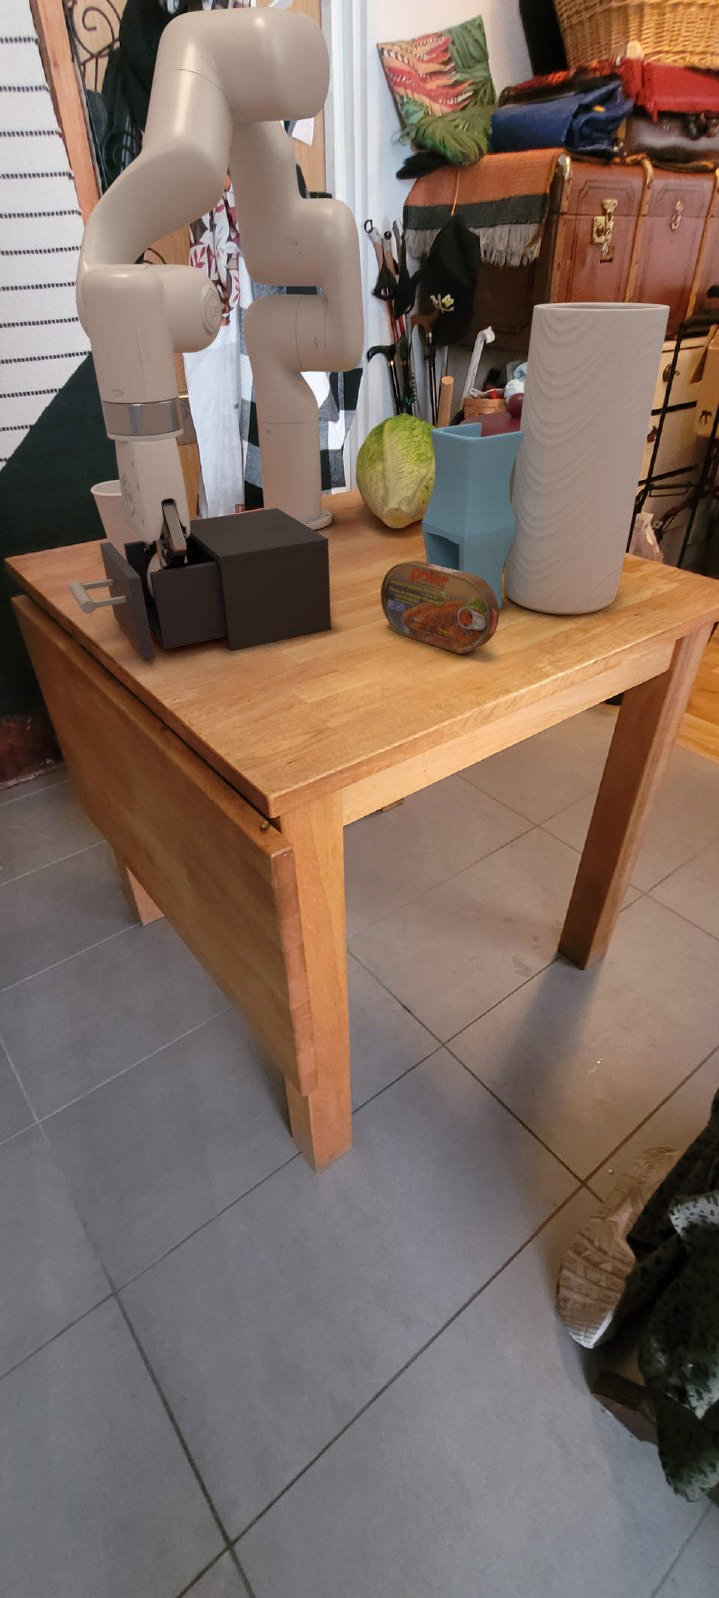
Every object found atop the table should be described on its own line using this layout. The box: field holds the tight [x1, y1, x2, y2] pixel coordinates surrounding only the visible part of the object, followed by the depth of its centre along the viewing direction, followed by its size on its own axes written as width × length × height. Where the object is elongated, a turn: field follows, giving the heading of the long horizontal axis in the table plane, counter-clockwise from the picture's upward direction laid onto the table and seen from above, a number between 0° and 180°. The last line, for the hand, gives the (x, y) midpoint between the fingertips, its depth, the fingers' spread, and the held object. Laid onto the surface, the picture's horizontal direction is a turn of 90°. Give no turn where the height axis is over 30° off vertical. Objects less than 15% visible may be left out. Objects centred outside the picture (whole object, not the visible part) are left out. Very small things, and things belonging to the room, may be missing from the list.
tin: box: [380, 560, 500, 654], centre depth 85 cm, size 15×3×8 cm, turn 47°
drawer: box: [68, 537, 227, 660], centre depth 86 cm, size 16×13×9 cm
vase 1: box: [421, 422, 525, 609], centre depth 91 cm, size 8×8×20 cm
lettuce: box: [355, 412, 437, 529], centre depth 126 cm, size 15×24×16 cm
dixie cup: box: [90, 479, 142, 561], centre depth 110 cm, size 8×8×10 cm
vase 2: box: [503, 301, 671, 616], centre depth 89 cm, size 14×14×32 cm
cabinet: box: [189, 508, 332, 651], centre depth 90 cm, size 13×15×11 cm
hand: (171, 593), depth 87 cm, fingers closed on egg, 4 cm apart
